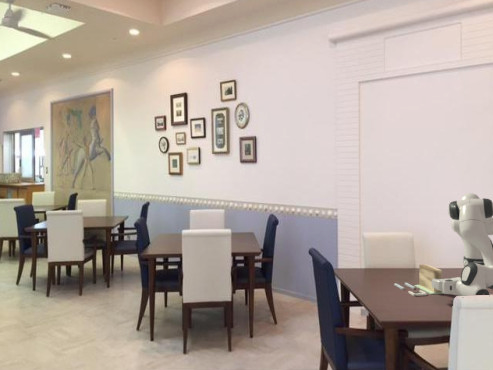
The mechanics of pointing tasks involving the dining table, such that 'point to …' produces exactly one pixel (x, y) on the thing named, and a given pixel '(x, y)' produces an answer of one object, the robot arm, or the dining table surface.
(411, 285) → the track
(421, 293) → the trap pen
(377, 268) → the dining table surface
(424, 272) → the board
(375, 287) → the dining table surface
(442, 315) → the dining table surface
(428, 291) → the pad
